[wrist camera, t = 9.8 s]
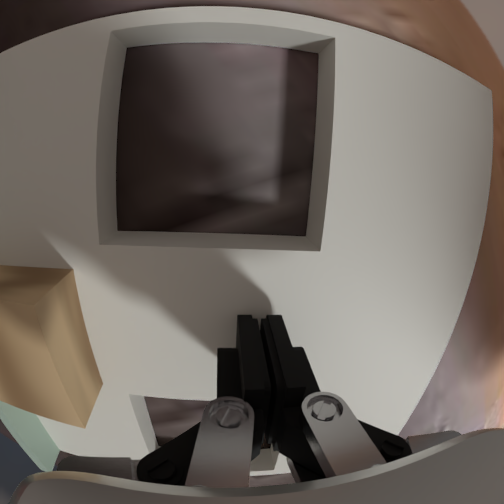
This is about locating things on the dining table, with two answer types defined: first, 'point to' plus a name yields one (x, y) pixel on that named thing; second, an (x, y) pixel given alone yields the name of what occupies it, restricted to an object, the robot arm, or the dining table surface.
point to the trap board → (248, 245)
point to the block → (45, 345)
